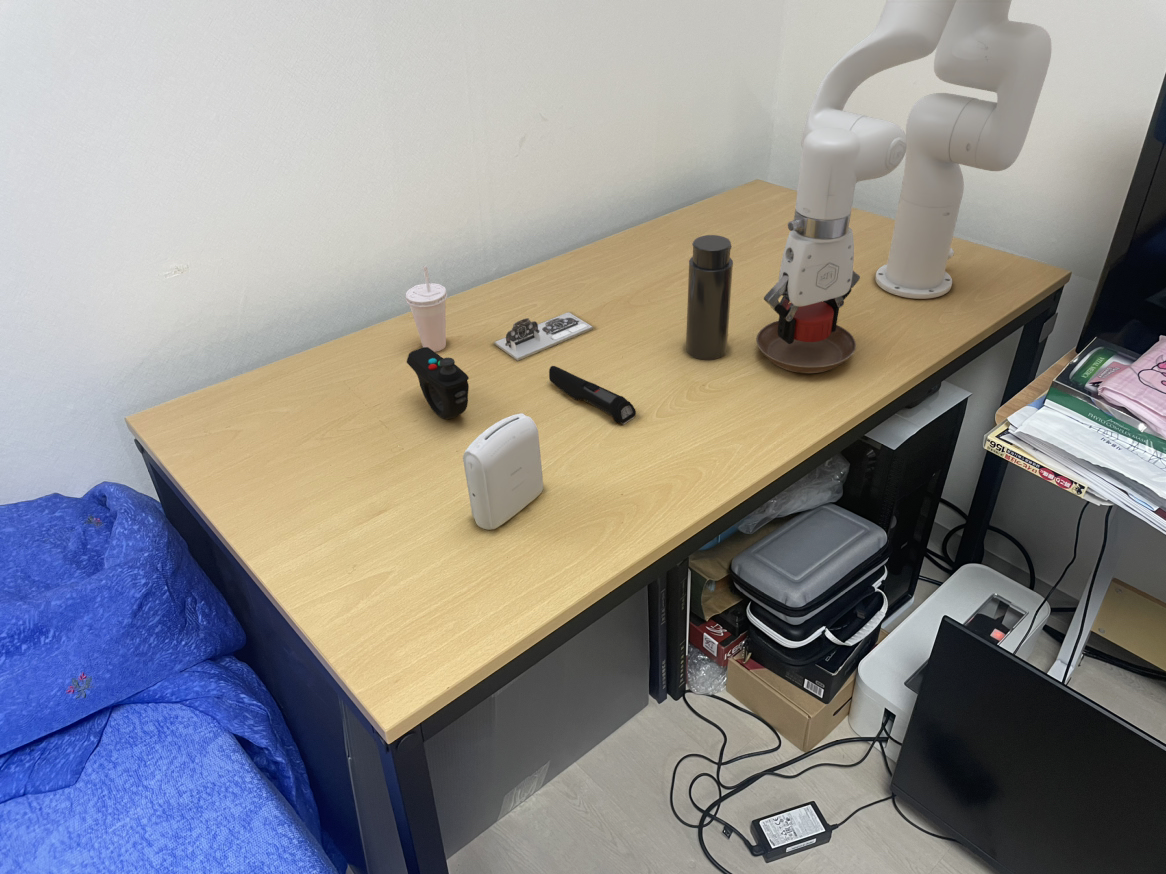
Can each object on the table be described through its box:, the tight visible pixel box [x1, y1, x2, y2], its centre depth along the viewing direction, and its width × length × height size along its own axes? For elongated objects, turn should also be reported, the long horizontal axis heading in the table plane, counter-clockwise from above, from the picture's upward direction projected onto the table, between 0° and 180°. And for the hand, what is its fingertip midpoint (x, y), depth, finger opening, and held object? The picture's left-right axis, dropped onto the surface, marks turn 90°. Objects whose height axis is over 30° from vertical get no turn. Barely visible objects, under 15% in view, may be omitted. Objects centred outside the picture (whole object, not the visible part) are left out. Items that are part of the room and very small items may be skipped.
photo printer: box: [462, 412, 544, 531], centre depth 105 cm, size 10×4×12 cm, turn 140°
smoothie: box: [405, 265, 448, 353], centre depth 137 cm, size 6×6×14 cm
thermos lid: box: [786, 301, 834, 342], centre depth 131 cm, size 7×7×4 cm
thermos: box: [685, 234, 734, 361], centre depth 132 cm, size 6×6×18 cm
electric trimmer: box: [548, 365, 637, 426], centre depth 126 cm, size 4×16×3 cm, turn 45°
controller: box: [406, 346, 470, 420], centre depth 123 cm, size 4×12×10 cm, turn 38°
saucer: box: [755, 320, 857, 374], centre depth 134 cm, size 15×15×3 cm
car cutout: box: [493, 312, 594, 362], centre depth 141 cm, size 15×7×4 cm, turn 128°
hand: (806, 332), depth 132 cm, fingers closed on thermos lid, 6 cm apart
